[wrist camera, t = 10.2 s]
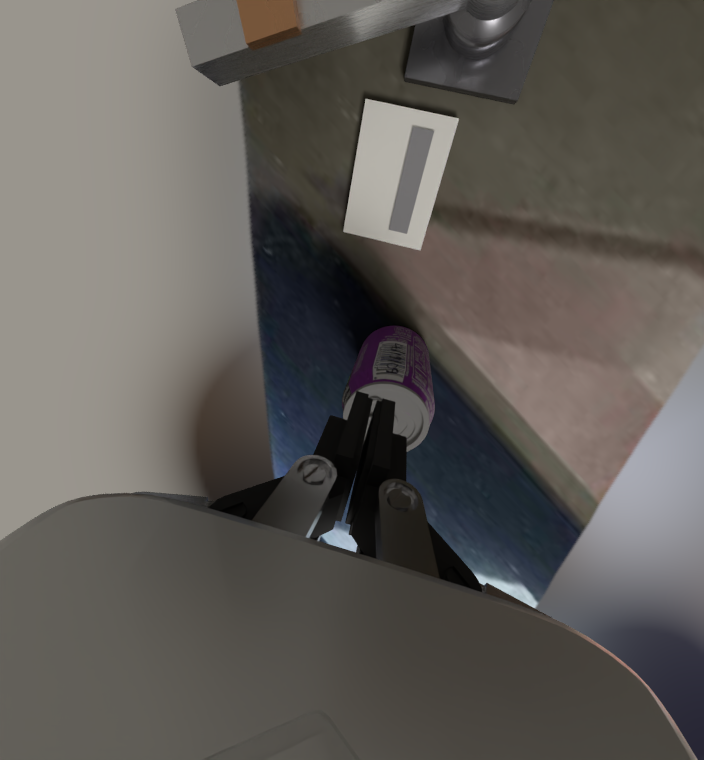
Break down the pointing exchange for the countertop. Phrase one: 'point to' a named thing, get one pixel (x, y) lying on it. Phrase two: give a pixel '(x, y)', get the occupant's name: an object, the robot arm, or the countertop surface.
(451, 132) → the label plate
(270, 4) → the grey long bar
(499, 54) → the pivot pedestal
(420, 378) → the beverage can
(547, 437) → the countertop surface
